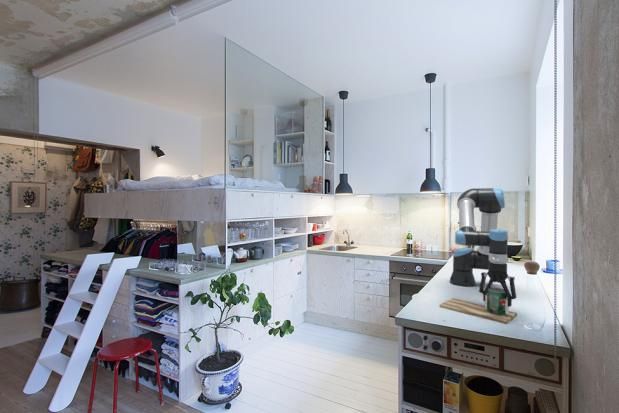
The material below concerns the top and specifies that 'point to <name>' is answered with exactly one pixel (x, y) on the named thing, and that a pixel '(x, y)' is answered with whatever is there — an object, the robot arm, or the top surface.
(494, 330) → the top surface
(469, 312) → the board
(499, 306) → the canned tomato
